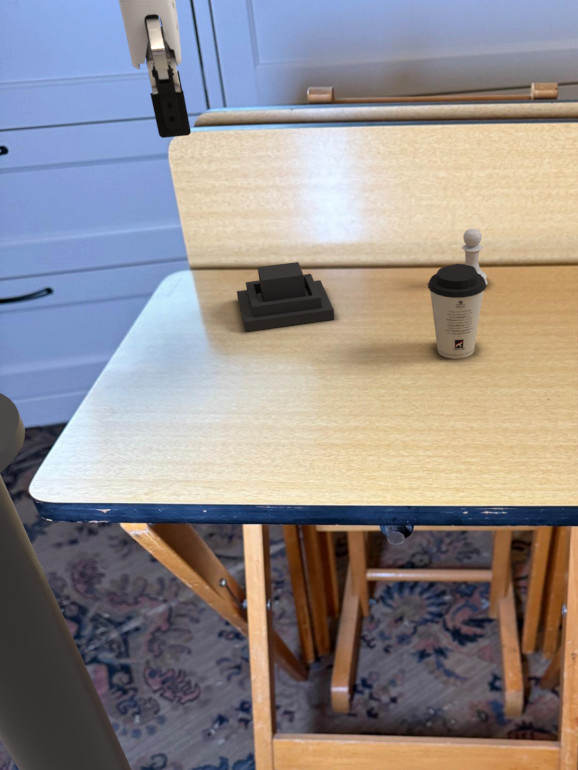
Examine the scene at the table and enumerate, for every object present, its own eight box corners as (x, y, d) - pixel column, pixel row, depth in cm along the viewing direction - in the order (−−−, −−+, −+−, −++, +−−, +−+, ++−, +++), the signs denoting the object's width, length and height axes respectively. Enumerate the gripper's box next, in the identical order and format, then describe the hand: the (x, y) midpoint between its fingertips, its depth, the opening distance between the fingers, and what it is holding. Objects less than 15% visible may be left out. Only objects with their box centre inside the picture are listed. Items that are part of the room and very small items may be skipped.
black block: (265, 309, 107) (261, 280, 104) (261, 295, 110) (257, 267, 107) (306, 303, 108) (303, 274, 105) (301, 289, 111) (298, 261, 108)
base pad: (245, 332, 105) (242, 311, 103) (238, 301, 113) (234, 280, 111) (334, 319, 107) (332, 298, 105) (321, 289, 115) (319, 269, 113)
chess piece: (477, 275, 117) (479, 220, 112) (493, 287, 114) (496, 231, 108) (448, 281, 115) (449, 226, 110) (464, 294, 112) (466, 237, 107)
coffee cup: (470, 368, 96) (472, 289, 90) (418, 356, 99) (417, 279, 92) (491, 343, 101) (495, 266, 94) (442, 332, 104) (442, 257, 97)
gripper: (95, -81, 80) (137, 108, 91) (88, -69, 67) (138, 149, 78) (171, -85, 81) (203, 102, 92) (179, -73, 68) (215, 142, 79)
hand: (173, 123), depth 85 cm, fingers open, 9 cm apart
